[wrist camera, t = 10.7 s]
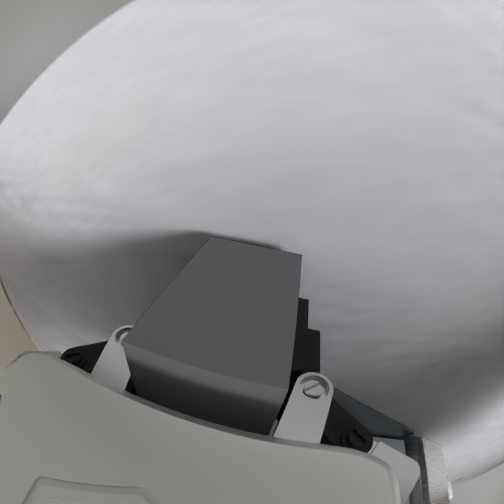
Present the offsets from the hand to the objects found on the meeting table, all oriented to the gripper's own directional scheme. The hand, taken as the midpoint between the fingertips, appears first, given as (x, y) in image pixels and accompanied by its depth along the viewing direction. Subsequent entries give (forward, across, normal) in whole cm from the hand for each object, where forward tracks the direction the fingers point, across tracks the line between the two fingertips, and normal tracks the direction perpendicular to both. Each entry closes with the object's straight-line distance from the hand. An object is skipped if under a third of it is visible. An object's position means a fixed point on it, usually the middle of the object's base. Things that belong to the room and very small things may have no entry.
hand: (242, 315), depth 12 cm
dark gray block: (+1, 0, +3) cm, 3 cm away
